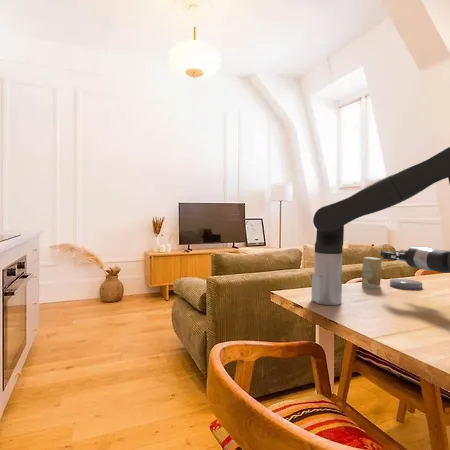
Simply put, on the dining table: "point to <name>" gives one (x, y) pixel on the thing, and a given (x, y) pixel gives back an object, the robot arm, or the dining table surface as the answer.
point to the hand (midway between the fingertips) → (391, 253)
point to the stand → (406, 284)
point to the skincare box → (371, 272)
